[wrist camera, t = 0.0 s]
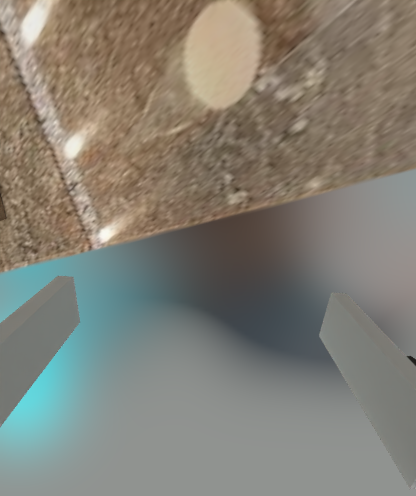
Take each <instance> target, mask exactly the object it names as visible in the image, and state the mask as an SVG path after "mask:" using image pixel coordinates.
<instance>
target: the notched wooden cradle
mask: <svg viewBox="0 0 416 496" xmlns="http://www.w3.org/2000/svg"><path fill="white" fill-rule="evenodd" d="M4 219H6V216H5V212H4V207H3V203H2V199H1V195H0V221H1V220H4Z"/></svg>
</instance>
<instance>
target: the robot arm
mask: <svg viewBox="0 0 416 496" xmlns="http://www.w3.org/2000/svg"><path fill="white" fill-rule="evenodd" d="M79 323H80V318H79V312H78V305H77V298H76V292H75V286H74V278H73V277H67V276H58V277H56V278H55V279H54V280H53V281H51V282H50V283H49V284H48V285H46V286H45V287H44V288H43V289H41V290H40V291H39V292H38V293H37V294H35V295H34V296H33V297H32V298H31V299H30V300H28V301H27V302H26V303H25V304H23V305H22V306H21V307H20V308H18V309H17V310H16V311H15V312H14V313H12V314H11V315H10V316H9V317H7V318H6V319H5V320H4V321H3V322H1V323H0V427H1V425H2V424H3V423H4V421H5V420H6V419H7V417H8V416H9V415H10V413H11V412H12V411H13V409H14V408H15V407H16V406H17V404H18V403H19V402H20V400H21V399H22V398H23V396H24V395H25V394H26V392H27V391H28V390H29V388H30V387H31V386H32V384H33V383H34V382H35V381H36V379H37V378H38V376H39V375H40V374H41V373H42V371H43V370H44V369H45V367H46V366H47V365H48V363H49V362H50V361H51V359H52V358H53V357H54V356H55V354H56V353H57V352H58V350H59V349H60V348H61V346H62V345H63V344H64V342H65V341H66V340H67V338H68V337H69V336H70V334H71V333H72V332H73V331H74V329H75V328H76V327H77V325H78V324H79ZM319 337H320V338H321V340H322V341H323V343H324V345H325V347H326V348H327V350H328V352H329V353H330V355H331V357H332V358H333V360H334V362H335V363H336V365H337V367H338V369H339V370H340V372H341V374H342V375H343V377H344V379H345V380H346V382H347V384H348V385H349V387H350V389H351V390H352V392H353V394H354V395H355V397H356V399H357V400H358V402H359V403H360V405H361V407H362V409H363V410H364V412H365V414H366V415H367V417H368V419H369V420H370V422H371V424H372V426H373V427H374V429H375V431H376V432H377V434H378V436H379V437H380V439H381V441H382V442H383V444H384V446H385V447H386V449H387V451H388V453H389V454H390V456H391V458H392V459H393V461H394V462H395V464H396V466H397V468H398V469H399V471H400V473H401V474H402V476H403V478H404V479H405V481H406V483H407V484H408V486H409V488H410V489H411V488H412V489H416V359H414V358H413V357H411V356H406V355H405V354H404V353H403V352H402V351H401V350H400V349H399V348H398V347H397V346H396V345H395V344H394V343H393V342H392V341H391V340H390V339H389V338H388V337H387V336H386V335H385V334H384V332H382V330H381V329H380V328H379V327H378V326H377V325H376V324H375V323H374V322H373V321H372V320H371V319H370V318H369V317H368V316H367V315H366V314H365V313H364V312H363V311H362V310H361V309H360V308H359V307H358V306H357V304H356V303H355V302H354V301H353V300H352V299H351V298H350V297H349V296H348V295H347V294H343V293H331V296H330V300H329V303H328V307H327V310H326V313H325V317H324V320H323V324H322V327H321V331H320V334H319Z"/></svg>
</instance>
